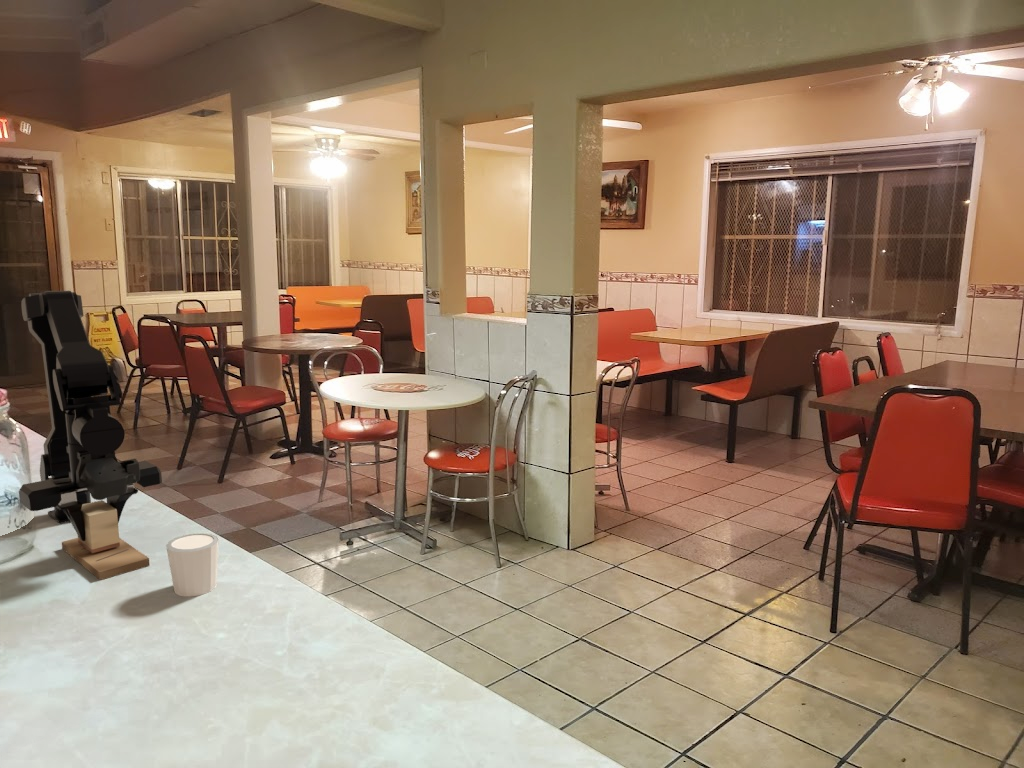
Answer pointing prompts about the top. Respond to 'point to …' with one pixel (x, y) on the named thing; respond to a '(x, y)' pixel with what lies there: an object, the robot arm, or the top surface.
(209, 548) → the white cup
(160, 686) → the top surface
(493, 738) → the top surface
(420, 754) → the top surface
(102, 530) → the block
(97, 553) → the board
